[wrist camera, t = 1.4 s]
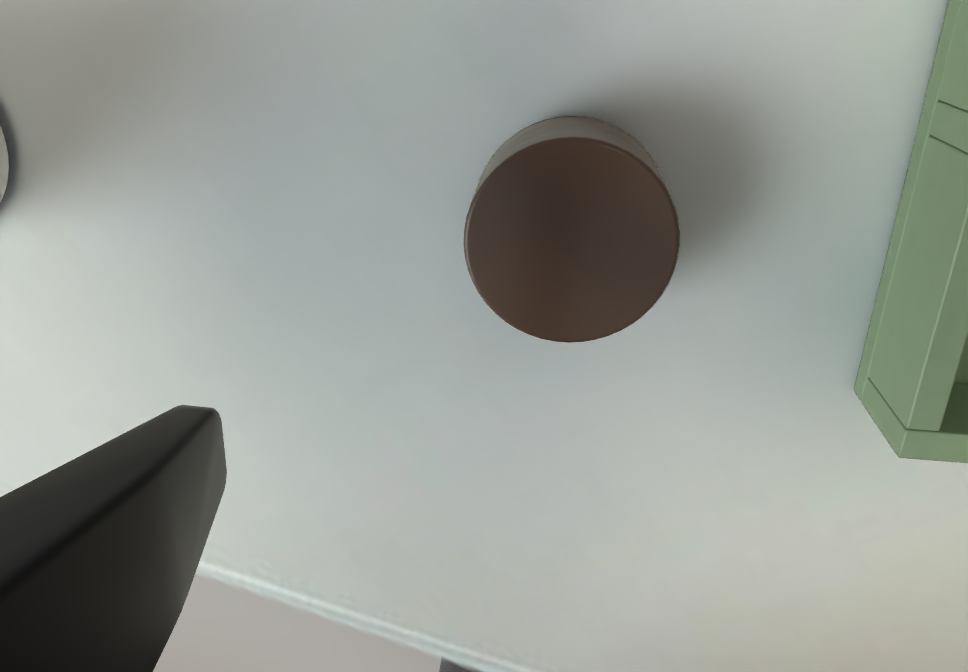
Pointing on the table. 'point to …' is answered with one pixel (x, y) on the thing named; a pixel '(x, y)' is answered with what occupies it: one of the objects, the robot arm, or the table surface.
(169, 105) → the table surface
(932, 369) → the grid
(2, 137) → the supplement bottle
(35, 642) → the robot arm
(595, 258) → the cylinder
